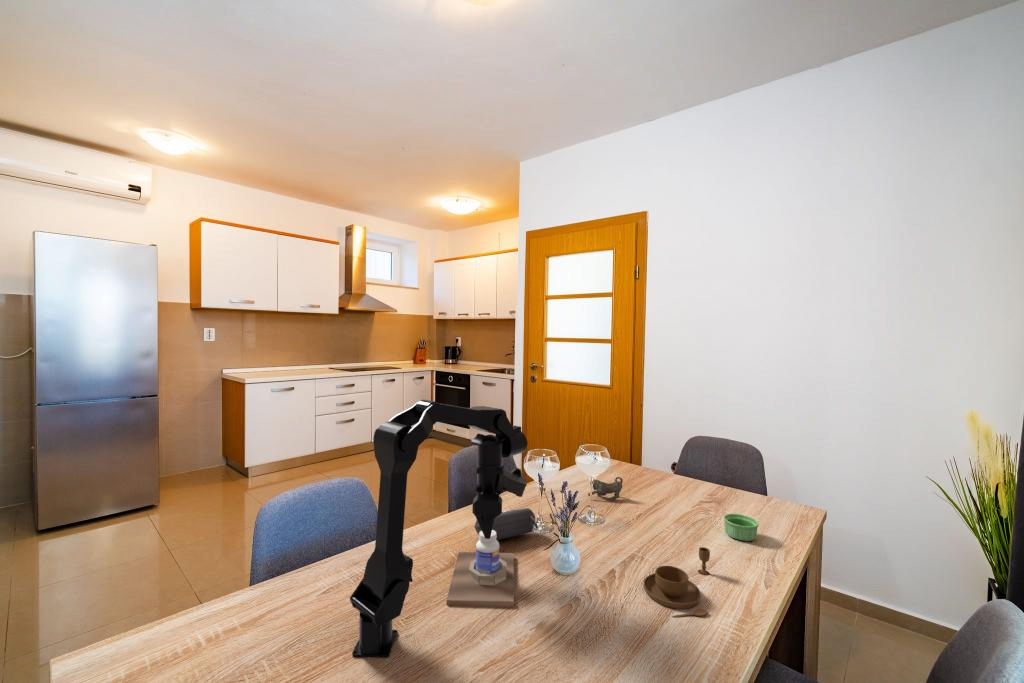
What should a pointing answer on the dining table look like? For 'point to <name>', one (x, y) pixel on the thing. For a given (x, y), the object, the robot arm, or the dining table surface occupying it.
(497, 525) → the glasses case
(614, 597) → the dining table surface
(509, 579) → the socket board
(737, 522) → the ramekin
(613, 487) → the dog figurine
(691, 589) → the place setting
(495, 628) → the dining table surface
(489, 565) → the pill bottle
